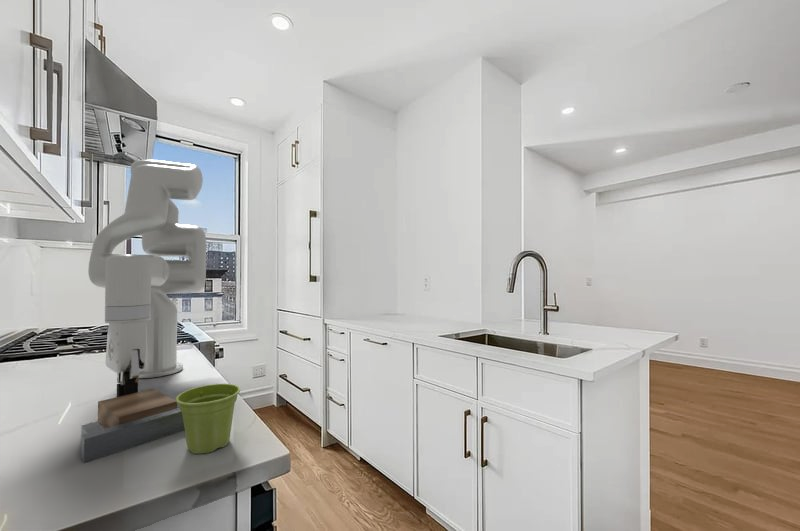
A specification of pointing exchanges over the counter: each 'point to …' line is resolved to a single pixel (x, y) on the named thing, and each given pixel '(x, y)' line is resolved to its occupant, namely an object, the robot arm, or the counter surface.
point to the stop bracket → (127, 434)
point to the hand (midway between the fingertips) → (127, 402)
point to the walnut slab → (133, 407)
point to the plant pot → (208, 415)
